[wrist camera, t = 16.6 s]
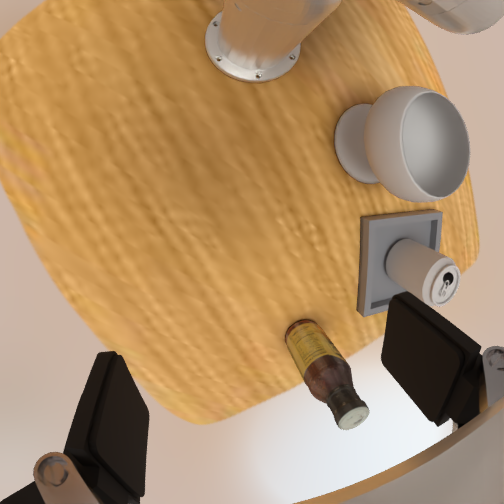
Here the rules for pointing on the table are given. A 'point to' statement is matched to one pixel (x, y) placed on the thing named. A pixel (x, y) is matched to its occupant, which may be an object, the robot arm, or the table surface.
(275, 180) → the table surface
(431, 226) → the tray
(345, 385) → the sauce bottle
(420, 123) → the chalice
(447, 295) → the can
